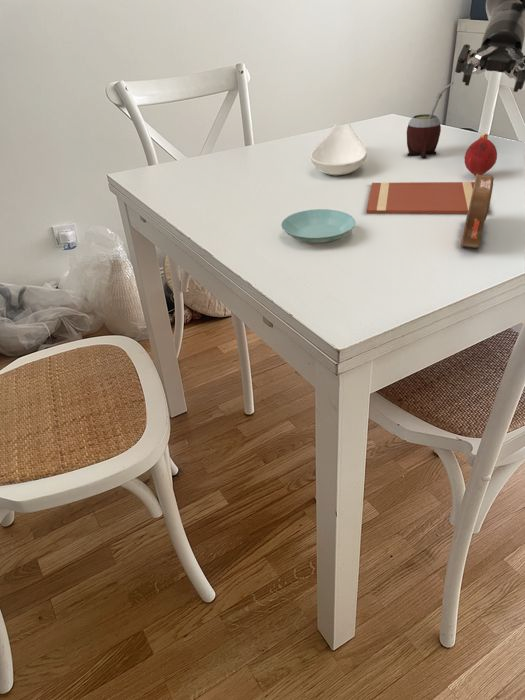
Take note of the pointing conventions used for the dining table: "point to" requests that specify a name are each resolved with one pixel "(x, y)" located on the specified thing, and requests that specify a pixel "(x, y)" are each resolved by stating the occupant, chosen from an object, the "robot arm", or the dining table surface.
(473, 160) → the red pomegranate
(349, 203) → the dining table surface
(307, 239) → the saucer
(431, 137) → the mate gourd
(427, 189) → the towel
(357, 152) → the spoon rest
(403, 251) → the dining table surface
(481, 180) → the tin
